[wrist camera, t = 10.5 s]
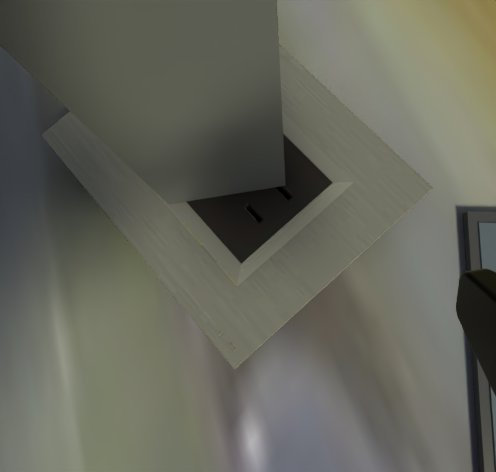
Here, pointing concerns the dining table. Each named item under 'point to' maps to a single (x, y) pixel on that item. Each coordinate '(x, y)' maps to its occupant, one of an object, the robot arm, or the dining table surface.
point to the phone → (486, 403)
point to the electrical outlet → (257, 216)
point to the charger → (164, 85)
